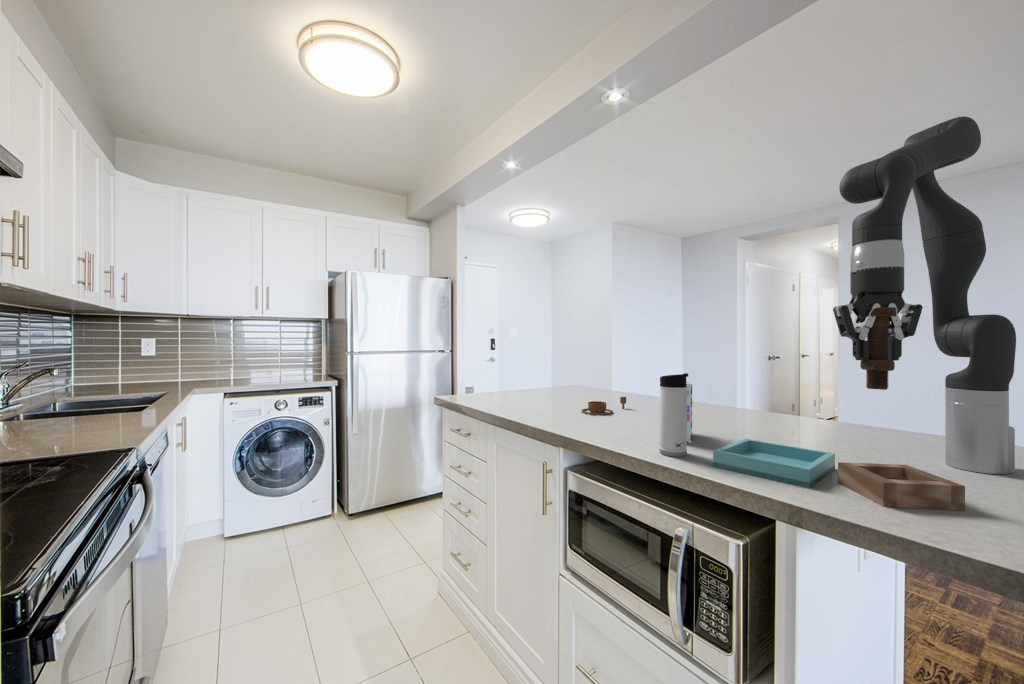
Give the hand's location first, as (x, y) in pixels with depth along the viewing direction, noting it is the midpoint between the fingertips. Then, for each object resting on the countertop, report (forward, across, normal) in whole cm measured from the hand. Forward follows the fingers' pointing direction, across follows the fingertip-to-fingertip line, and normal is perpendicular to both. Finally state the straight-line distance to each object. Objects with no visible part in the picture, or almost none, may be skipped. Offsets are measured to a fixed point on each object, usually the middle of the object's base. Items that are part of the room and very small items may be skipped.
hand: (876, 359), depth 77 cm
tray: (+24, +12, -13) cm, 30 cm away
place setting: (+25, +41, -80) cm, 93 cm away
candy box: (+25, +26, -40) cm, 53 cm away
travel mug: (+25, +31, -22) cm, 45 cm away
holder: (+24, -2, +2) cm, 24 cm away
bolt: (+6, 0, 0) cm, 6 cm away
